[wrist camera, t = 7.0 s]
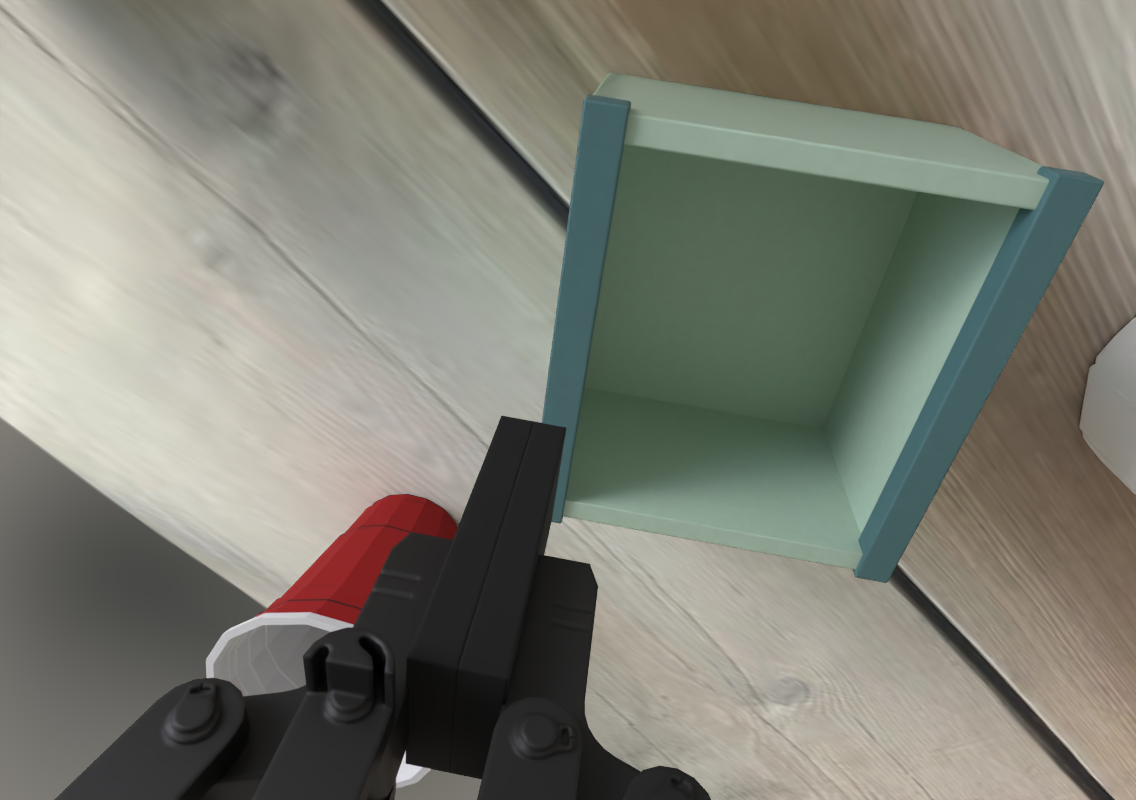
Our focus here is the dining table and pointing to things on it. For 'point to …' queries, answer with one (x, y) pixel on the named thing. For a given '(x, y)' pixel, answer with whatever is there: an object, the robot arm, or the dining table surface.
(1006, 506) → the dining table surface
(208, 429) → the dining table surface
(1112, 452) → the decorative vase
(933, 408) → the basket
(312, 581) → the plastic cup
